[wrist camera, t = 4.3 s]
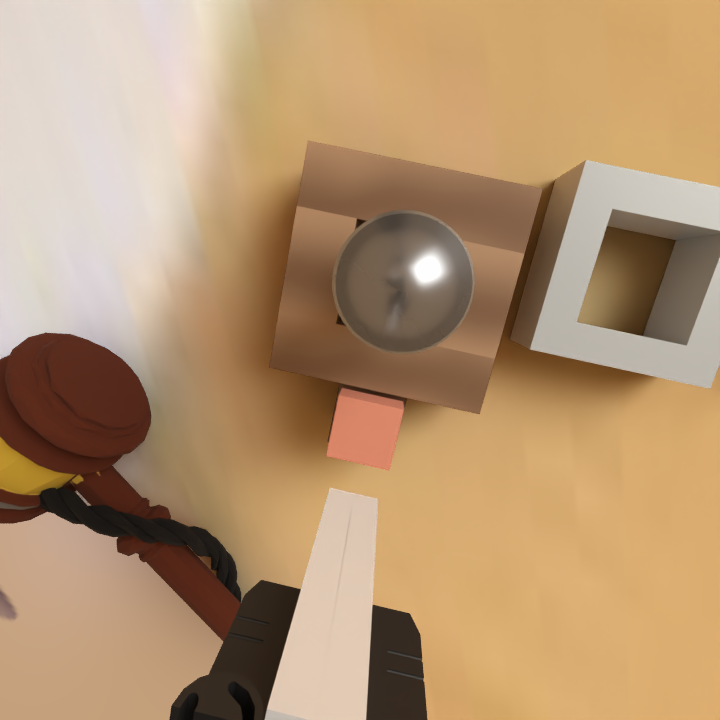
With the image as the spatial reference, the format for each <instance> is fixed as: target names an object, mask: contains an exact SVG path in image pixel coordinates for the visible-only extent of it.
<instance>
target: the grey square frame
mask: <svg viewBox="0 0 720 720" xmlns="http://www.w3.org/2000/svg"><path fill="white" fill-rule="evenodd" d="M607 226H609V227H614V228H619V229H624V230H629V231H634V232H638V233H643V234H648V235H653V236H658V237H663V238H667V239H672V240H676V242H675V245H674V248H673V251H672V254H671V257H670V259H669V262H668V265H667V268H666V271H665V274H664V277H663V279H662V282H661V285H660V288H659V291H658V294H657V297H656V299H655V302H654V305H653V308H652V311H651V314H650V317H649V319H648V322H647V325H646V328H645V331H644V334H643V336H640V335H635V334H630V333H626V332H621V331H616V330H612V329H607V328H602V327H598V326H593V325H588V324H584V323H579V322H577V319H578V316H579V313H580V310H581V307H582V304H583V300H584V297H585V294H586V291H587V288H588V285H589V281H590V278H591V275H592V272H593V269H594V266H595V262H596V259H597V256H598V253H599V250H600V247H601V243H602V240H603V237H604V234H605V231H606V227H607ZM510 340H511V341H514V342H516V343H518V344H520V345H522V346H524V347H526V348H528V349H530V350H535V351H539V352H544V353H549V354H553V355H558V356H562V357H567V358H572V359H576V360H581V361H585V362H590V363H594V364H599V365H604V366H608V367H613V368H617V369H622V370H627V371H631V372H636V373H640V374H645V375H650V376H654V377H659V378H663V379H668V380H673V381H677V382H682V383H686V384H691V385H696V386H700V387H705V388H709V389H710V388H711V385H712V382H713V380H714V377H715V375H716V372H717V370H718V367H719V365H720V187H716V186H711V185H706V184H701V183H696V182H691V181H686V180H681V179H677V178H672V177H667V176H662V175H657V174H652V173H647V172H642V171H637V170H632V169H627V168H622V167H617V166H612V165H607V164H602V163H597V162H593V161H588V160H586V161H584V162H582V163H581V164H579V165H578V166H576V167H574V168H573V169H571V170H570V171H568V172H566V173H565V174H563V175H562V176H560V177H558V178H557V179H555V183H554V186H553V190H552V193H551V197H550V200H549V204H548V207H547V211H546V214H545V218H544V221H543V225H542V228H541V232H540V235H539V239H538V242H537V246H536V249H535V253H534V256H533V260H532V263H531V267H530V270H529V274H528V277H527V281H526V284H525V288H524V291H523V295H522V298H521V302H520V305H519V309H518V312H517V316H516V319H515V323H514V326H513V330H512V333H511V337H510Z"/></svg>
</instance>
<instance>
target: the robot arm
mask: <svg viewBox="0 0 720 720" xmlns="http://www.w3.org/2000/svg"><path fill="white" fill-rule="evenodd" d="M377 512H378V499H377V498H373V497H368V496H364V495H360V494H355V493H351V492H347V491H342V490H338V489H334V488H330V489H329V493H328V496H327V500H326V503H325V507H324V510H323V514H322V517H321V521H320V524H319V528H318V531H317V535H316V538H315V542H314V545H313V549H312V552H311V556H310V559H309V563H308V566H307V570H306V573H305V577H304V581H303V584H302V588H301V589H297V588H293V587H289V586H285V585H280V584H276V583H272V582H268V581H264V580H261V581H260V582H259V583H257V584H256V585H255V586H254V587H253V588H252V589H251V590H250V591H249V592H248V593H246V594H245V596H244V598H243V600H242V603H241V605H240V607H239V609H238V611H237V614H236V617H235V619H234V620H233V622H232V625H231V627H230V629H229V631H228V634H227V636H226V638H225V640H224V642H223V644H222V647H221V649H220V651H219V653H218V655H217V658H216V660H215V662H214V664H213V666H212V669H211V671H210V673H209V675H206V676H203V677H200V678H198V679H197V680H196V681H194V682H193V683H191V684H190V685H189V686H187V687H186V688H184V689H183V691H182V692H181V693H180V695H179V696H178V698H177V699H176V700H175V702H174V703H173V704H172V706H171V714H170V720H427V710H426V698H425V686H424V682H423V678H424V674H423V662H422V650H421V638H420V633H419V631H418V629H417V627H416V625H415V623H414V621H413V619H412V617H411V615H410V614H409V613H405V612H401V611H397V610H393V609H388V608H384V607H380V606H376V605H372V603H373V585H374V567H375V548H376V530H377Z"/></svg>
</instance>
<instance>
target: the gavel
mask: <svg viewBox="0 0 720 720" xmlns="http://www.w3.org/2000/svg"><path fill="white" fill-rule="evenodd" d="M150 423H151V412H150V407H149V403H148V399H147V396H146V393H145V391H144V389H143V387H142V385H141V383H140V381H139V379H138V377H137V375H136V374H135V373H134V372H133V370H132V369H131V368H130V367H129V366H128V365H127V364H126V363H125V362H124V361H123V360H122V359H121V358H120V357H118V356H117V355H115V354H114V353H112V352H111V351H109V350H108V349H107V348H105V347H102V346H100V345H97V344H95V343H92V342H91V341H89V340H86V339H83V338H80V337H77V336H74V335H71V334H56V333H44V334H40V335H36V336H32V337H28V338H27V339H26V340H24V341H23V342H22V343H21V344H19V345H18V346H17V347H15V348H14V349H13V350H12V352H11V354H10V355H9V356H7V357H4V358H2V359H1V360H0V523H17V522H22V521H27V520H31V519H33V518H35V517H37V516H39V515H41V514H43V513H45V512H51V513H55V514H56V515H57V516H59V517H61V518H64V519H65V520H67V521H69V522H71V523H73V524H74V523H75V524H84V525H85V526H87V527H88V528H90V529H92V530H93V531H95V532H97V533H99V534H103V535H108V536H111V537H118V539H117V550H118V552H119V553H122V554H125V555H127V556H130V555H132V554H134V553H138V554H139V558H140V560H141V561H143V562H147V563H148V564H149V565H150V566H151V567H152V568H153V570H154V571H155V572H156V573H157V574H158V575H159V576H161V578H162V579H163V580H164V581H165V582H166V583H167V584H168V585H169V586H170V587H171V588H172V589H173V590H174V591H175V592H176V593H177V594H178V595H179V596H180V597H181V598H182V599H183V600H184V601H185V602H186V603H187V604H188V605H189V607H191V609H192V610H193V611H194V612H195V613H196V614H197V615H198V616H199V617H200V618H201V619H202V620H203V621H204V622H205V623H206V624H207V625H208V626H209V627H210V628H211V629H212V630H213V631H214V632H215V633H216V634H217V635H218V636H219V637H220V638H221V639H222V640H223V641H224V640H225V638H226V636H227V634H228V631H229V629H230V627H231V625H232V622H233V620H234V619H235V617H236V614H237V611H238V609H239V607H240V605H241V592H240V588H239V586H238V584H237V582H236V581H237V570H236V565H235V562H234V560H233V558H232V556H231V555H230V554H229V553H228V552H227V551H226V549H225V548H224V547H223V545H222V544H221V543H220V542H219V541H218V540H217V538H215V537H213V536H212V535H211V534H210V533H209V532H208V531H207V530H205V529H202V528H198V527H195V526H193V527H188V526H186V525H183V524H181V523H179V522H177V521H175V520H171V519H170V518H171V516H170V513H169V510H168V508H166V507H164V506H161V505H157V506H153V507H150V506H149V500H148V499H147V498H142V497H141V496H140V495H139V494H138V493H137V492H136V491H135V490H134V489H133V488H132V486H131V485H130V484H129V483H128V482H127V481H126V480H125V479H124V478H123V477H122V476H121V475H120V474H119V473H118V472H117V471H116V469H115V468H114V467H113V466H112V465H113V464H114V463H115V462H117V461H118V460H119V459H120V458H121V456H122V455H123V454H127V453H130V452H131V451H133V450H134V449H135V448H136V447H137V446H138V445H139V444H141V443H142V442H143V441H144V440H145V437H146V435H147V432H148V430H149V427H150ZM76 490H77V491H78V492H79V493H80V494H81V495H82V496H83V497H84V498H85V499H86V500H87V501H88V502H89V503H90V504H91V505H92V506H87V505H86V504H85V503H84V501H83V500H82V499H81V498H80V497H79V496H78V495H77V494H76V493H75V491H76ZM187 545H188V546H189V547H190V548H191V549H192V550H193V551H192V550H191V549H190V548H189V547H188V546H187ZM194 553H195V554H196V555H198V556H207V557H211V569H212V570H217V573H216V575H217V577H216V576H215V575H214V574H213V573H212V572H211V571H210V570H209V569H208V567H207V566H206V565H205V564H204V563H203V562H202V561H201V560H200V559H199V558H198V557H197V556H196V555H195V554H194Z"/></svg>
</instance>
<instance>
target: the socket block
mask: <svg viewBox="0 0 720 720" xmlns="http://www.w3.org/2000/svg"><path fill="white" fill-rule="evenodd" d="M542 190H543V189H542V188H537V187H532V186H527V185H522V184H517V183H512V182H508V181H503V180H498V179H493V178H488V177H483V176H478V175H473V174H469V173H464V172H459V171H454V170H449V169H444V168H439V167H434V166H430V165H425V164H420V163H415V162H410V161H405V160H400V159H395V158H391V157H386V156H381V155H376V154H371V153H366V152H361V151H356V150H352V149H347V148H342V147H337V146H332V145H327V144H322V143H317V142H313V141H308V143H307V149H306V155H305V161H304V167H303V173H302V178H301V184H300V190H299V196H298V202H297V208H296V214H295V219H294V225H293V231H292V237H291V243H290V249H289V255H288V260H287V266H286V272H285V278H284V284H283V290H282V296H281V301H280V307H279V313H278V319H277V325H276V331H275V337H274V342H273V348H272V354H271V360H270V366H269V367H270V368H275V369H279V370H284V371H288V372H293V373H297V374H301V375H306V376H310V377H315V378H319V379H324V380H328V381H333V382H337V383H340V384H339V389H338V394H337V399H336V404H335V409H334V413H333V418H332V423H331V428H330V433H329V438H328V442H329V440H330V435H331V430H332V425H333V421H334V416H335V411H336V406H337V401H338V397H339V394H340V391H341V389H342V388H345V389H349V390H354V391H358V392H363V393H367V394H372V395H376V396H380V397H385V398H389V399H394V400H398V401H403V404H404V408H405V404H406V399H407V398H409V399H413V400H418V401H422V402H427V403H431V404H436V405H440V406H445V407H449V408H454V409H458V410H463V411H467V412H472V413H476V414H480V411H481V407H482V403H483V400H484V396H485V393H486V389H487V386H488V382H489V379H490V375H491V371H492V368H493V364H494V361H495V357H496V354H497V350H498V347H499V343H500V339H501V336H502V332H503V329H504V325H505V322H506V318H507V315H508V311H509V307H510V304H511V300H512V297H513V293H514V290H515V286H516V283H517V279H518V275H519V272H520V268H521V265H522V261H523V258H524V254H525V250H526V247H527V243H528V240H529V236H530V233H531V229H532V226H533V222H534V218H535V215H536V211H537V208H538V204H539V201H540V197H541V194H542ZM398 210H412V211H419V212H423V213H426V214H429V215H432V216H434V217H436V218H438V219H440V220H441V221H443V222H445V223H446V224H447V225H448V226H450V227H451V228H452V229H453V230H454V231H455V232H456V233H457V234H458V235H459V237H460V238H461V239H462V241H463V242H464V244H465V246H466V248H467V250H468V251H469V254H470V257H471V260H472V263H473V268H474V276H475V286H474V294H473V299H472V302H471V305H470V308H469V310H468V313H467V315H466V317H465V318H464V320H463V321H462V323H461V325H460V326H459V327H458V328H457V329H456V331H455V332H454V333H453V334H452V335H450V336H449V337H448V338H447V339H446V340H444V341H443V342H442V343H440V344H438V345H437V346H435V347H433V348H431V349H428V350H425V351H422V352H418V353H414V354H391V353H386V352H382V351H379V350H376V349H374V348H372V347H370V346H368V345H366V344H365V343H363V342H362V341H360V340H359V339H358V338H357V337H355V336H354V335H353V334H352V333H351V332H350V331H349V329H348V328H347V327H346V325H345V324H344V323H343V321H342V319H341V317H340V316H339V313H338V311H337V308H336V306H335V302H334V298H333V291H332V277H333V269H334V265H335V262H336V259H337V256H338V254H339V251H340V250H341V248H342V246H343V244H344V243H345V241H346V240H347V239H348V237H349V236H350V235H351V234H352V233H353V232H354V231H355V230H356V229H357V228H358V227H359V226H361V225H362V224H363V223H365V222H366V221H368V220H370V219H371V218H373V217H375V216H378V215H380V214H383V213H387V212H390V211H398Z"/></svg>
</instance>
